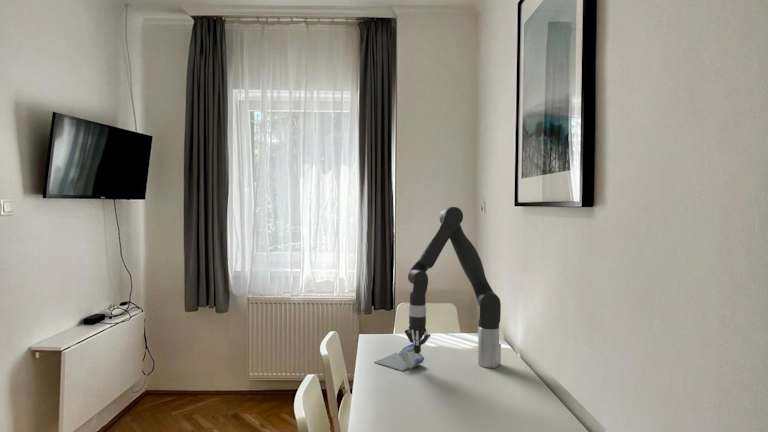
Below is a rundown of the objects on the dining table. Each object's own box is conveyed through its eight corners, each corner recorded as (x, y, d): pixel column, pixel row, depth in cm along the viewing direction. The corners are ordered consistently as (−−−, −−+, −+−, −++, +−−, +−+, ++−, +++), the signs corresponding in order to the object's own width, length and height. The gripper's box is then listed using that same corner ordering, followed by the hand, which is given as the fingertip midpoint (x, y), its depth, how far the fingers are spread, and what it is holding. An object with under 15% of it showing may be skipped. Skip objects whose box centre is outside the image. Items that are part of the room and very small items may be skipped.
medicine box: (415, 363, 179) (403, 347, 183) (409, 369, 181) (397, 353, 184) (425, 358, 185) (413, 343, 189) (419, 364, 187) (407, 348, 191)
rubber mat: (423, 361, 190) (423, 360, 190) (402, 371, 178) (402, 370, 178) (396, 353, 201) (396, 352, 201) (374, 362, 188) (374, 361, 188)
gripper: (434, 315, 181) (434, 354, 181) (410, 310, 190) (410, 347, 190) (425, 318, 175) (425, 358, 176) (400, 313, 184) (400, 351, 184)
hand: (417, 352), depth 183 cm, fingers closed
